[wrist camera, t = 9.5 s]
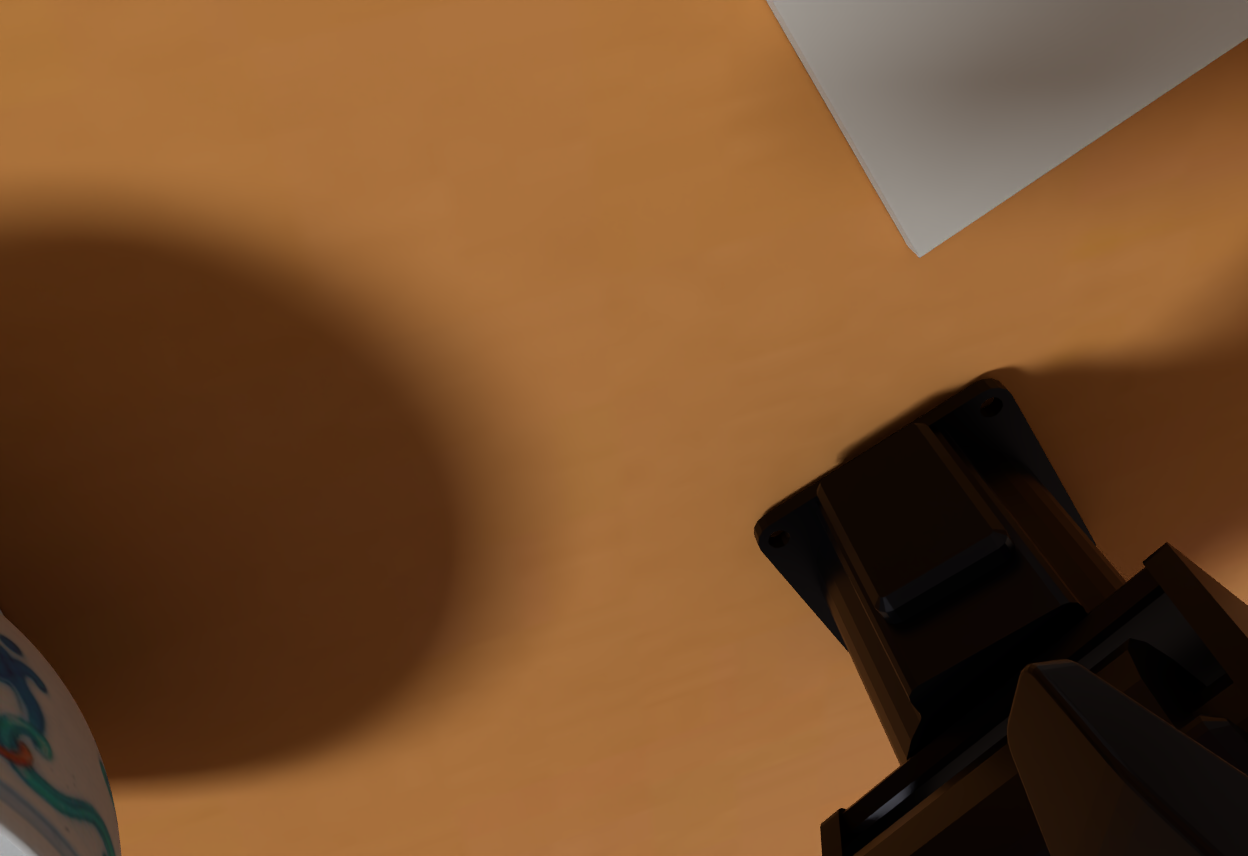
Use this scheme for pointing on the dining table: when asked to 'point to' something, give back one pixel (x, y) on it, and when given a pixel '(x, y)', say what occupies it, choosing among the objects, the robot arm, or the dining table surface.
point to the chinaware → (48, 762)
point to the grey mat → (991, 87)
